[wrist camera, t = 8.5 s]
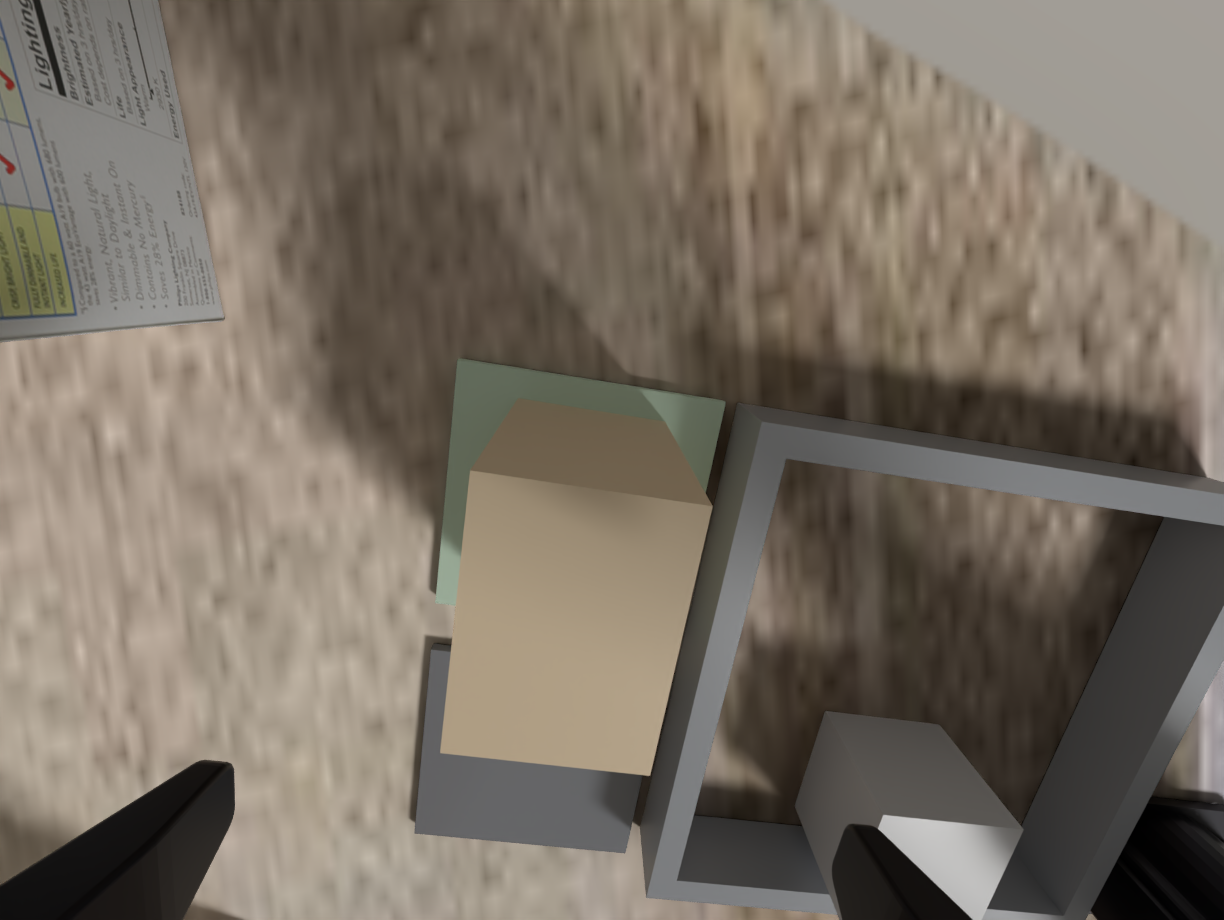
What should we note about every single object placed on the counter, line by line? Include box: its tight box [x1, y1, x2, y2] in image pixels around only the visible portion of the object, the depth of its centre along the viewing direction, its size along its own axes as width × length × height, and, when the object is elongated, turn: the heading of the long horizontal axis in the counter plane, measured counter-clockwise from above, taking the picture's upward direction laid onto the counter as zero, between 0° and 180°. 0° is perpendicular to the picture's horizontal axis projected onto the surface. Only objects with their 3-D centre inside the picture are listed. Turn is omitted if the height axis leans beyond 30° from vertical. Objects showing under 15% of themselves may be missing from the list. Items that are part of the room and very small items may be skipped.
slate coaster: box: [415, 643, 643, 853], centre depth 24 cm, size 9×9×1 cm
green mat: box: [435, 358, 726, 606], centre depth 21 cm, size 9×9×1 cm
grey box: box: [795, 711, 1024, 920], centre depth 22 cm, size 5×5×5 cm
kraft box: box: [440, 398, 713, 776], centre depth 17 cm, size 5×7×8 cm
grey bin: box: [640, 403, 1224, 920], centre depth 22 cm, size 18×19×3 cm
